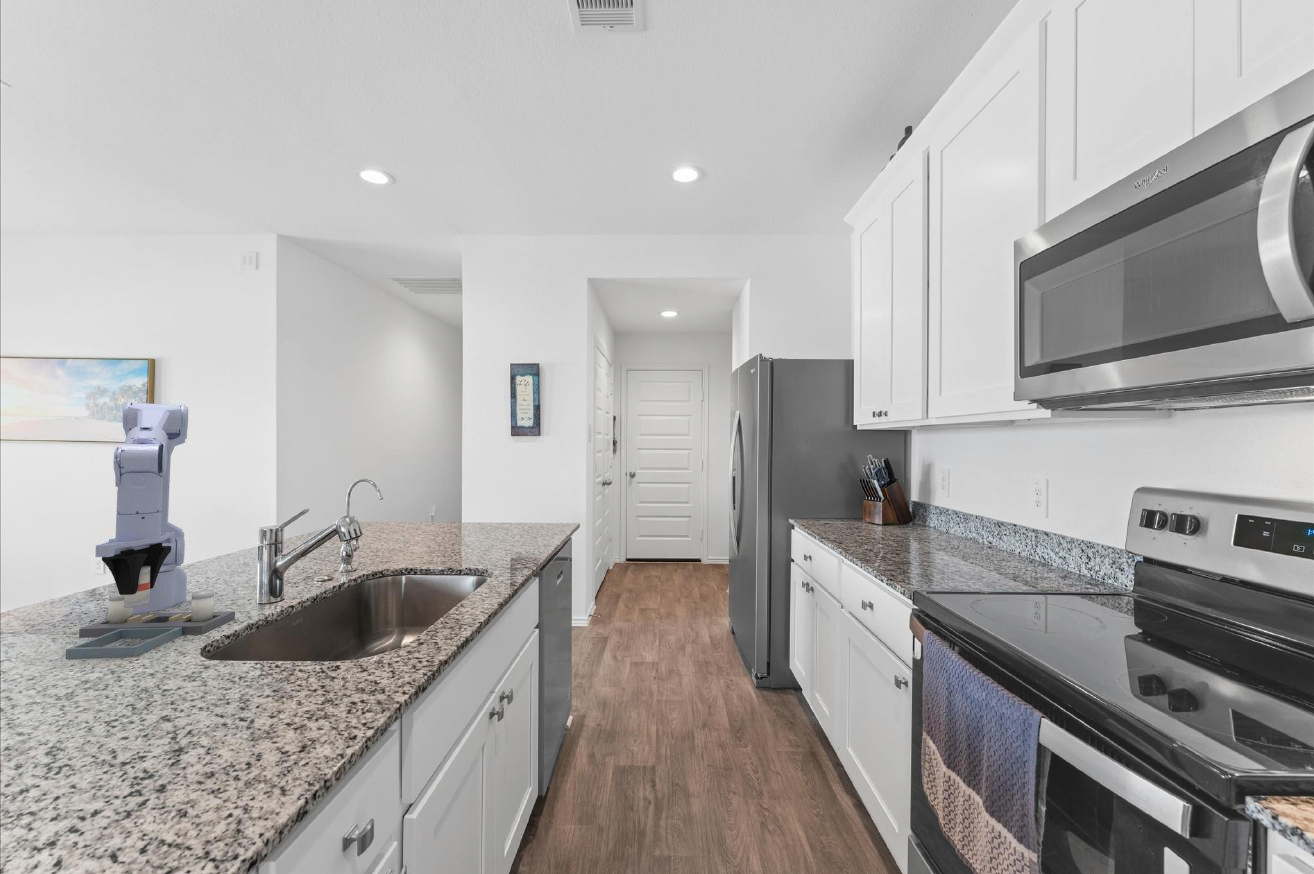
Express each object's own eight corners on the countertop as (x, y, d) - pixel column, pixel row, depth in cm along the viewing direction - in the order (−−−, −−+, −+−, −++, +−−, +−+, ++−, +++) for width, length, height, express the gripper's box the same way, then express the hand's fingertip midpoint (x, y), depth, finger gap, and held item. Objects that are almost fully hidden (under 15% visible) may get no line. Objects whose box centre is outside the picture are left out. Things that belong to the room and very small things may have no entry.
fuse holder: (122, 626, 105) (123, 610, 105) (234, 623, 107) (235, 608, 107) (78, 643, 96) (79, 625, 96) (201, 639, 98) (202, 622, 98)
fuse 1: (117, 626, 102) (119, 591, 102) (136, 625, 103) (137, 590, 103) (102, 631, 99) (103, 595, 99) (122, 631, 99) (123, 595, 100)
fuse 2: (198, 624, 104) (199, 589, 104) (217, 623, 104) (218, 589, 104) (186, 629, 101) (187, 594, 101) (205, 629, 101) (206, 594, 101)
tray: (120, 642, 96) (120, 628, 96) (181, 641, 97) (182, 627, 97) (65, 665, 86) (66, 649, 86) (134, 663, 87) (135, 647, 88)
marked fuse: (136, 602, 96) (138, 565, 96) (154, 602, 96) (156, 565, 96) (117, 607, 92) (118, 569, 93) (136, 608, 92) (137, 569, 93)
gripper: (146, 508, 101) (143, 582, 101) (75, 517, 87) (71, 603, 86) (188, 508, 102) (186, 581, 102) (125, 517, 88) (122, 602, 87)
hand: (136, 591), depth 94 cm, fingers closed on marked fuse, 3 cm apart
